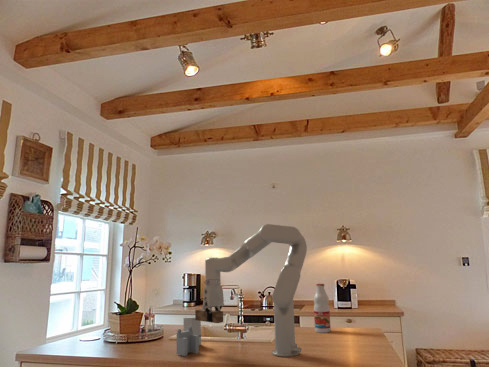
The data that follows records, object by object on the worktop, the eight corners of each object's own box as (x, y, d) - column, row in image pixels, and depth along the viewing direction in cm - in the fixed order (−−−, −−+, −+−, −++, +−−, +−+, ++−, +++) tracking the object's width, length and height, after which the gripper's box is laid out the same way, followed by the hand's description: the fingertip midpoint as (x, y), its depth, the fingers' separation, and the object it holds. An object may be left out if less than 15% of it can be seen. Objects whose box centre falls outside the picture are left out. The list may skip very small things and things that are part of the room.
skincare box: (192, 348, 209) (192, 318, 212) (182, 347, 212) (182, 317, 215) (201, 344, 217) (201, 315, 219) (192, 343, 220) (192, 315, 222)
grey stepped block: (198, 352, 199) (198, 327, 201) (184, 356, 193) (184, 330, 195) (190, 350, 203) (190, 326, 205) (176, 354, 197) (176, 329, 199)
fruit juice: (332, 330, 247) (329, 283, 252) (328, 333, 239) (325, 284, 243) (317, 329, 251) (315, 283, 256) (312, 332, 243) (310, 284, 248)
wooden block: (223, 322, 197) (223, 311, 198) (217, 323, 195) (217, 312, 195) (201, 319, 208) (201, 309, 209) (195, 320, 206) (195, 309, 206)
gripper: (205, 284, 194) (205, 324, 191) (230, 281, 206) (230, 319, 203) (195, 283, 199) (195, 322, 196) (220, 281, 211) (220, 318, 208)
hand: (213, 320), depth 199 cm, fingers closed on wooden block, 4 cm apart
